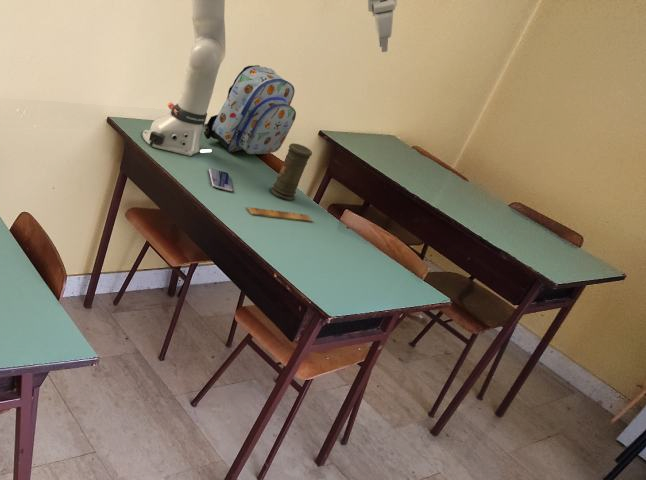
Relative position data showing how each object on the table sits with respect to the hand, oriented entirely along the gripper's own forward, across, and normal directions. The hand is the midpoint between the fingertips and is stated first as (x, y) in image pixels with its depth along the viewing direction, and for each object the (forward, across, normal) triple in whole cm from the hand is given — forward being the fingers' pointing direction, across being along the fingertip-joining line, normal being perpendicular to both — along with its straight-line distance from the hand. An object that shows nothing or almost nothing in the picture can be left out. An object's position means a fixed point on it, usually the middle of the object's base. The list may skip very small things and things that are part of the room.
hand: (383, 49), depth 204 cm
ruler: (+41, +33, -37) cm, 64 cm away
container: (+41, +14, -38) cm, 57 cm away
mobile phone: (+30, +22, -58) cm, 69 cm away
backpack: (+32, -20, -54) cm, 66 cm away
